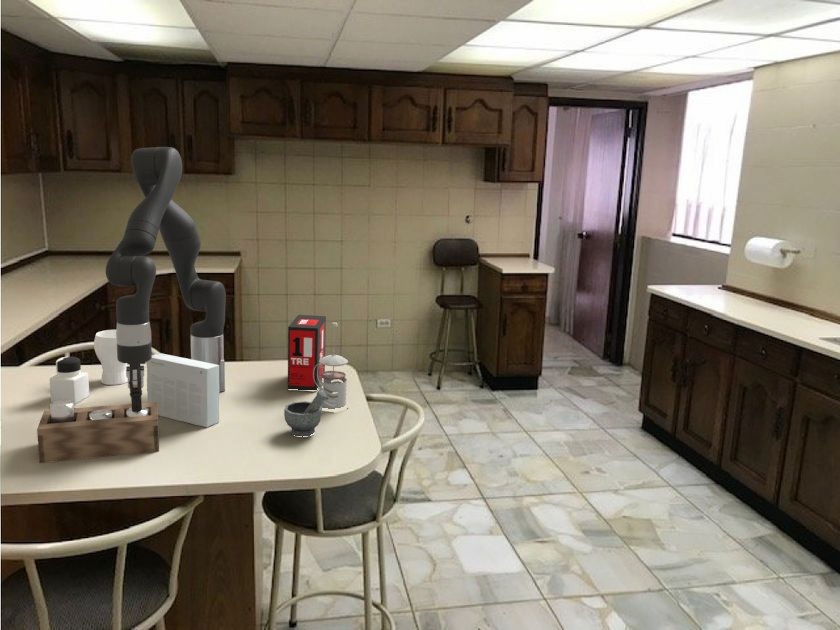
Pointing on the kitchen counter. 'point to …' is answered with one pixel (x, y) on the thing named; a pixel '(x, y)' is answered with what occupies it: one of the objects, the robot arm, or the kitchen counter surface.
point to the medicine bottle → (69, 381)
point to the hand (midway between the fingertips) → (136, 410)
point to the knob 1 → (62, 411)
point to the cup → (109, 358)
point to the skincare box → (184, 389)
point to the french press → (328, 387)
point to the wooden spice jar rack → (98, 434)
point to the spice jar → (100, 414)
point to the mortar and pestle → (304, 415)
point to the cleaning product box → (305, 351)
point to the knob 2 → (137, 412)
